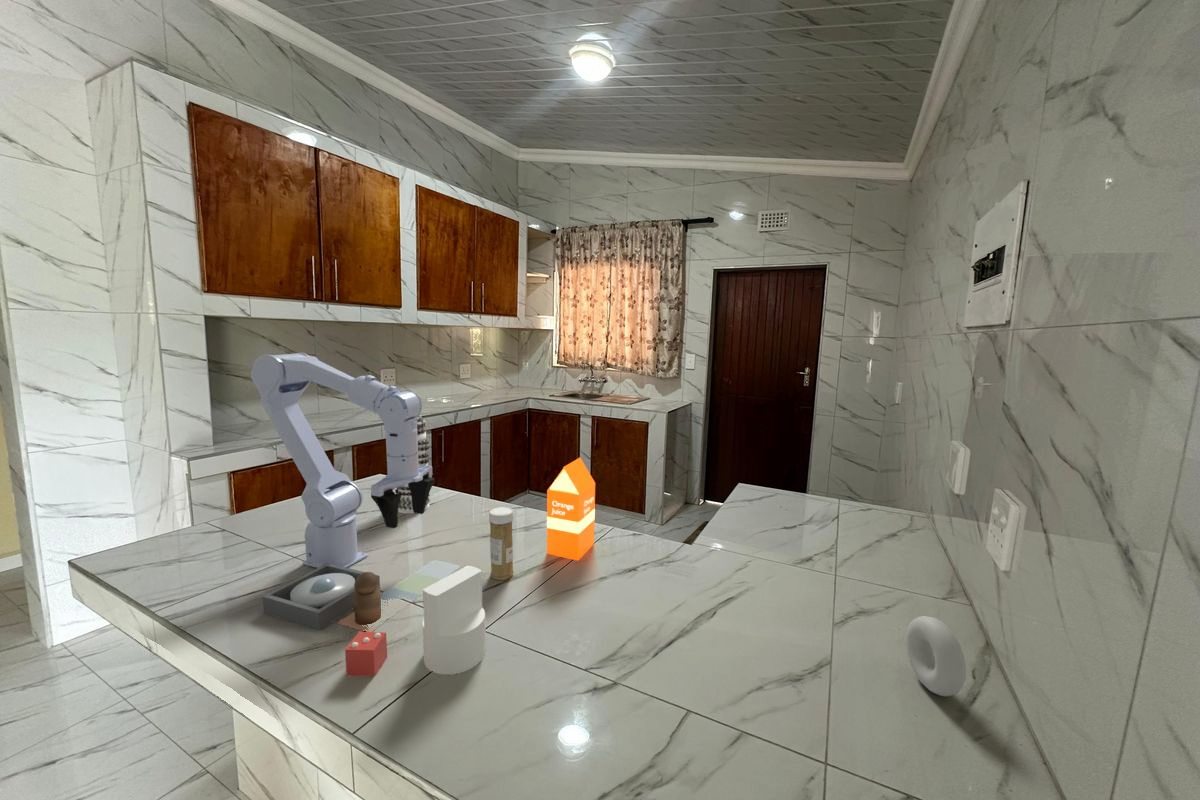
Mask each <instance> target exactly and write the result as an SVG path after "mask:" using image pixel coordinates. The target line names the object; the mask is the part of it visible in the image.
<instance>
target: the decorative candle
mask: <svg viewBox="0 0 1200 800" xmlns="http://www.w3.org/2000/svg"><path fill="white" fill-rule="evenodd" d="M415 418H416V417H415ZM426 422H427V420H425V419H424V418H423V417H422V415H420V414H419V415H418V416H417V435H418V461H419V467H420V466H424V465H427V466H429V462H430V460H429V459H428V458H427V457H429V455H430V454H429V453H427V452H426V451H428V450H429V449H430V446H428V444H429V442H430V441H429V440H427V431H426ZM394 492H395V494H400V495H402V496H401V499H400V502H399V507H398V513H401V514H415V513H414V511H413V507H412V497H411V492H410V489H409V486H408V484H406V485H403V486H401V487H398V488H396V489H394ZM430 495H431V494H430V493H429V495H428V498H427V501H426V506H425V510H424V511H426V510H428V509H429V508H430V506H431V505H430V502H431V500H430Z"/></svg>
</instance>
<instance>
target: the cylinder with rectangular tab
mask: <svg viewBox="0 0 1200 800" xmlns="http://www.w3.org/2000/svg"><path fill="white" fill-rule="evenodd" d="M482 573H483V572H482V570H481V569H480V568H478V567H476V566H472V565H466V566H465V567H462V568H461V569H460V568H459V569H458V570H456V571H454V572H453V573H451V574H450V575H449V576H447V577H445V578H443V579H442V580H440V581H438V582H436V583H434V584H432V585H430V586H428V587H426V588H425V589H423V595H422V597H423V598H422V599H423V601H422V602H423V603H422V604H423V619H422V644H423V646H422V647H423V663H425V664H424V666H425V665H426V666H425V668H426V669H428V670H429V671H430V672H432V671H433V672H432V673H434V672H436V674H437V673H439V674H438V675H443V674H445V675H444V676H447V675H446V674H449V675H456V673H457V674H461V672H462V673H464V672H466V671H469V670H471V669H473V668H475V667H476V666H477V665H478V664H479V663H480V662H482V660H483V659H484V657H485V655H486V652H487V651H486V650H487V649H486V648H487V646H486V645H487V644H486V643H487V640H486V639H487V638H486V637H487V636H486V635H487V634H486V610H485V609H484V607H483V583H482V582H483V580H482V579H483V577H482Z"/></svg>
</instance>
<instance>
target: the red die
mask: <svg viewBox="0 0 1200 800" xmlns="http://www.w3.org/2000/svg"><path fill="white" fill-rule="evenodd" d="M387 645H388V644H387V632H382V631H379V632H376V631H373V632H364V631H359V632H357V634H356V635H355V636H354V638H353V639H352V640H351V641H350V643H349V644H348V645H347V646H346V647H345V650H344V653H345V655H344V656H345V671H346V676H356V677H357V676H361V677H375V676H376V675H377V673H378V672H379V670H380V669H381V668H382V667H383V665H384V663H385V662H386V660H387V658H388V646H387Z"/></svg>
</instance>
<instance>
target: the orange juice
mask: <svg viewBox="0 0 1200 800" xmlns="http://www.w3.org/2000/svg"><path fill="white" fill-rule="evenodd" d="M590 473H591V472H589V470H588V468H587V467H586V465H585V463H584V461H583V460H582V458H581V457H578V458H576V459H575V460H573V461H572V462H569V463H568V464H566V465H565V466H563V468H562V470H561V471H560V472H559V474H558V475H557V477H556V478H555V479H554V481H553V482H552V484H551V485H550V486H549V487H548V489H547V490H546V496H547V498H546V502H547V503H546V506H547V507H546V508H547V509H546V510H547V511H546V513H547V514H546V554H547V555H551V556H552V555H553V556H557V557H559V558H560V557H561V558H564V559H569V560H574V561H579V560H580V559H581V558H582V557H583V556H584V555H585V554H586V553H587V552H588V551H589V550H590V549H591V548H592V547H593V546H594V545H595V519H596V508H595V507H596V505H595V503H596V482H595V480H594V479H593V477H592V475H591V474H590Z"/></svg>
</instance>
